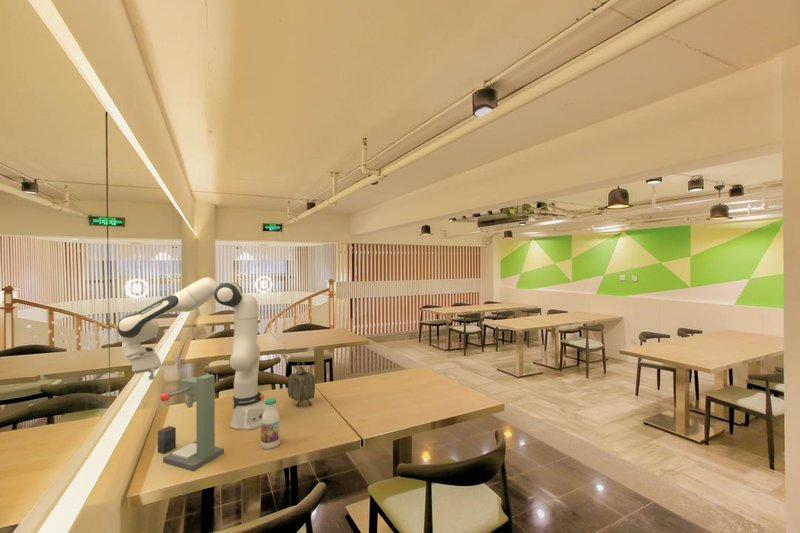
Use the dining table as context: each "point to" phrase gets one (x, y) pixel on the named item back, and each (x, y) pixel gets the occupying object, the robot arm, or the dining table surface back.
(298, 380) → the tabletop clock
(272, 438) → the milk bottle
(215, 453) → the press
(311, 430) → the dining table surface
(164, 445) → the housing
